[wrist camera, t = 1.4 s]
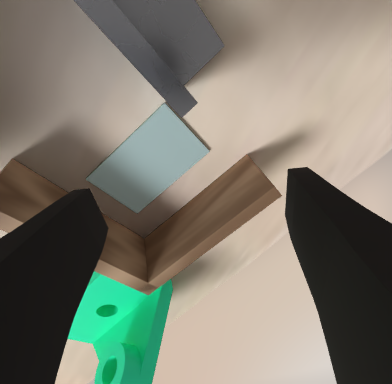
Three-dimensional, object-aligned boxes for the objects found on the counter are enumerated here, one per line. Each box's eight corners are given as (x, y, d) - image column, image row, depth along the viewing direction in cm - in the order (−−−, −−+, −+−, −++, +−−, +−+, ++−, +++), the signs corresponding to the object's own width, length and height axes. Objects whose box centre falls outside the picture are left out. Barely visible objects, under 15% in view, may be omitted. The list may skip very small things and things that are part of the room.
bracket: (68, -18, 14) (46, -30, 10) (130, -95, 13) (132, -144, 9) (169, 95, 18) (181, 117, 14) (220, 44, 17) (249, 54, 13)
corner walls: (2, 169, 19) (-33, 214, 14) (137, 19, 15) (142, 22, 11) (144, 250, 26) (148, 295, 22) (253, 162, 23) (282, 195, 19)
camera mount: (112, 243, 25) (106, 355, 17) (169, 269, 29) (187, 369, 21) (45, 309, 28) (13, 430, 20) (105, 324, 32) (99, 430, 24)
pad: (164, 102, 18) (164, 103, 18) (209, 150, 21) (209, 151, 21) (86, 178, 20) (85, 179, 20) (137, 212, 23) (137, 213, 23)
